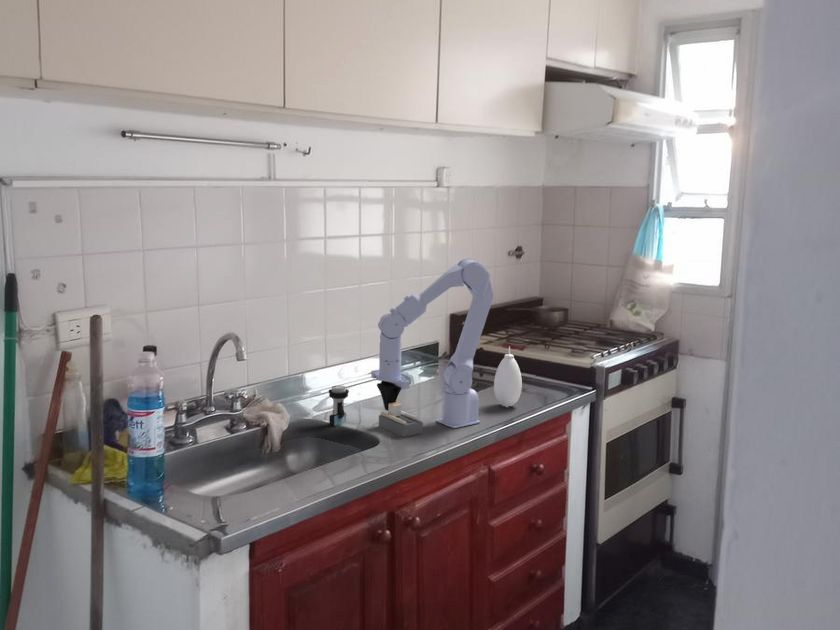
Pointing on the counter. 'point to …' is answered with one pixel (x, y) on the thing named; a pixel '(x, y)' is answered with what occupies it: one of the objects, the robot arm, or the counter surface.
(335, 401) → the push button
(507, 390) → the air blower bulb
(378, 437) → the counter surface
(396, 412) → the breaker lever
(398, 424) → the grey shallow tray
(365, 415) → the counter surface
